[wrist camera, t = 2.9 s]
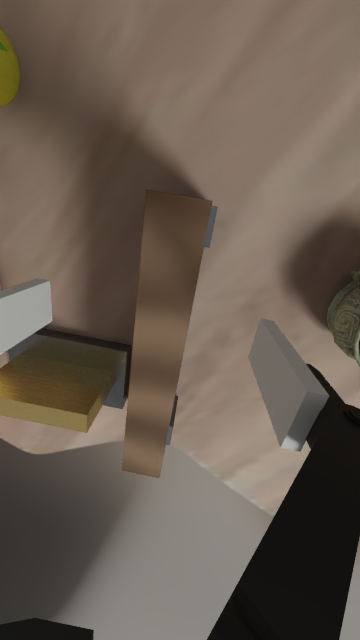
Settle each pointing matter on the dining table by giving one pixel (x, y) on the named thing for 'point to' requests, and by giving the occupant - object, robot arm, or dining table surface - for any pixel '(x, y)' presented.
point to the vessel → (346, 318)
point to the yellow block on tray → (63, 379)
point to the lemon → (8, 70)
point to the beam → (161, 322)
